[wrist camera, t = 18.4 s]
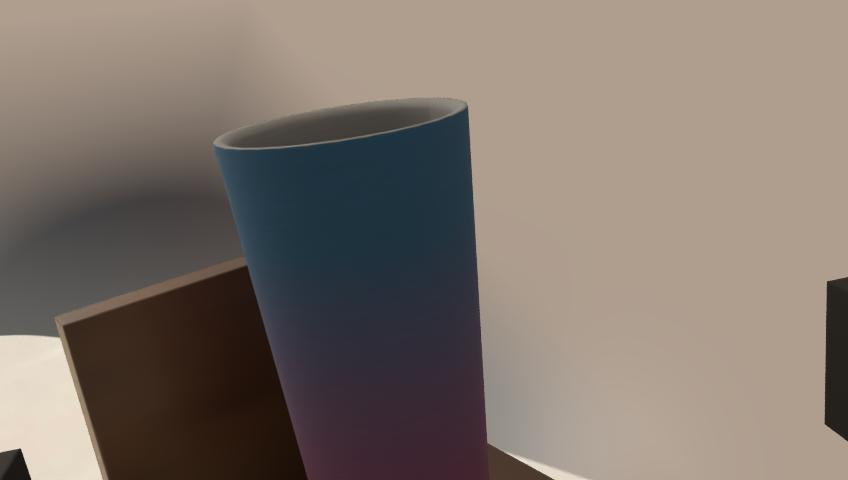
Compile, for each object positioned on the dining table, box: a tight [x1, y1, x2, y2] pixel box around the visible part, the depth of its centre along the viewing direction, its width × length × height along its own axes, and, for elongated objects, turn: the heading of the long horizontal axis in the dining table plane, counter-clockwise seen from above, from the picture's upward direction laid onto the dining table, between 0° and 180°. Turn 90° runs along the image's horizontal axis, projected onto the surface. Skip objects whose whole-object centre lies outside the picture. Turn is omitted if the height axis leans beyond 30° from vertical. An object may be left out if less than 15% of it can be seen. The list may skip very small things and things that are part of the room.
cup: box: [213, 98, 489, 480], centre depth 23 cm, size 7×7×15 cm
